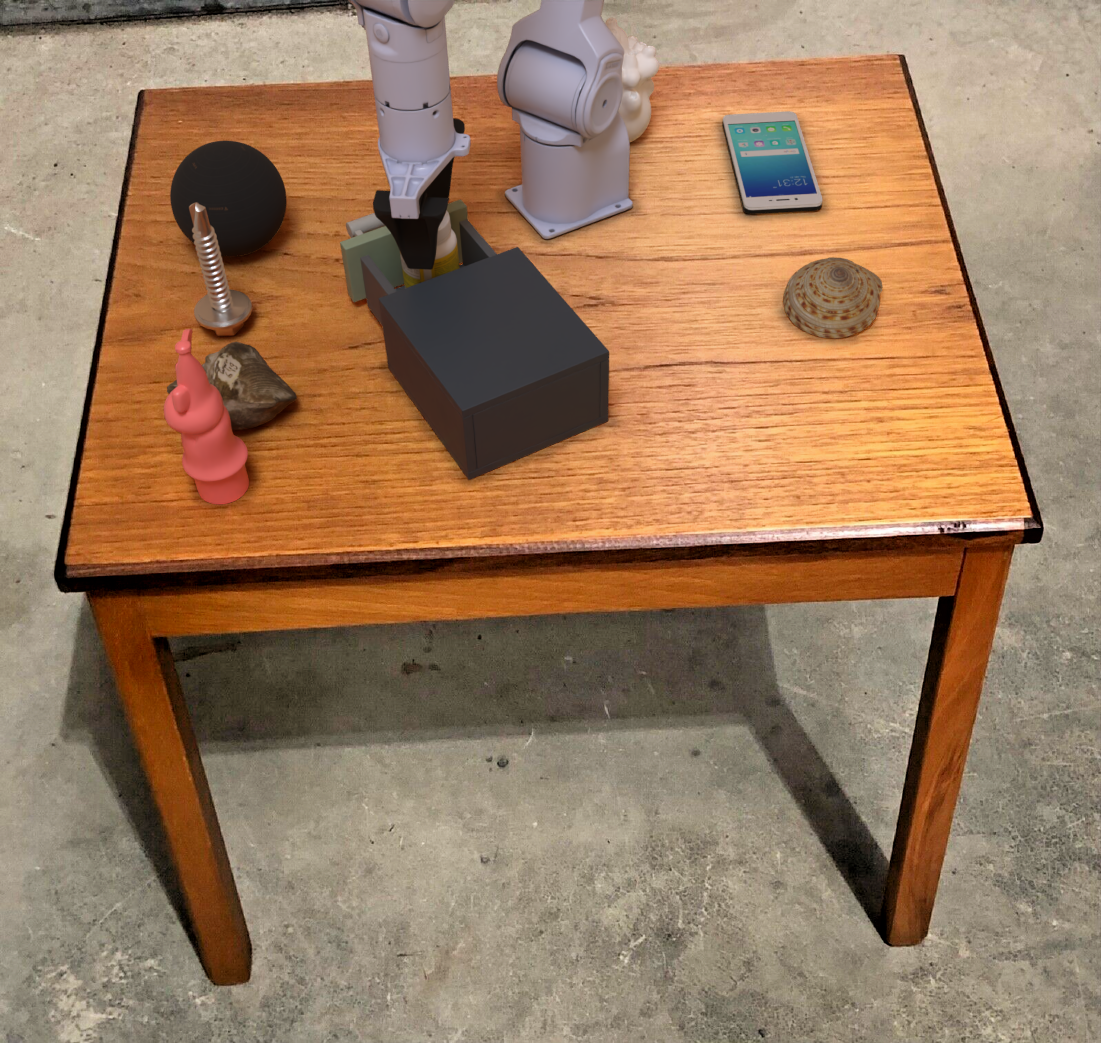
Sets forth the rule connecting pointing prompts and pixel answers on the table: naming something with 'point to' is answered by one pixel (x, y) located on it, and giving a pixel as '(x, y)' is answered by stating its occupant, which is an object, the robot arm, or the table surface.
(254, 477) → the table surface
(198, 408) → the figurine
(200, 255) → the screw
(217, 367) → the fossilized seashell
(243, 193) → the speaker
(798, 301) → the seashell
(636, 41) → the figurine
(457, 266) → the supplement bottle
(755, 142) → the smartphone
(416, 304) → the cabinet
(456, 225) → the drawer
